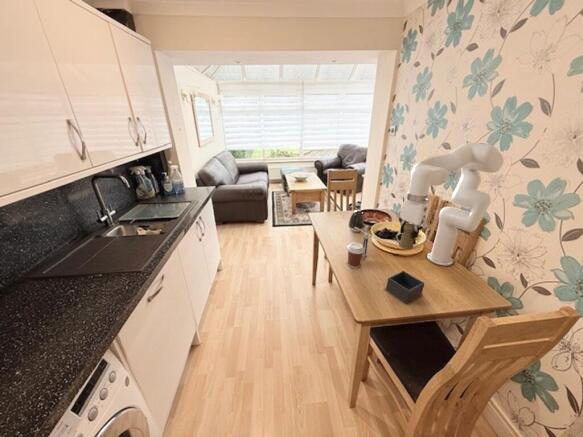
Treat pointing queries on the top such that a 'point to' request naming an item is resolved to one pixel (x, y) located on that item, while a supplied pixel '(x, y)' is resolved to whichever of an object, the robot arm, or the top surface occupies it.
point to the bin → (405, 286)
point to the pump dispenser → (356, 221)
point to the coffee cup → (355, 254)
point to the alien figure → (366, 239)
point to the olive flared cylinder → (407, 237)
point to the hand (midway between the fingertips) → (408, 234)
